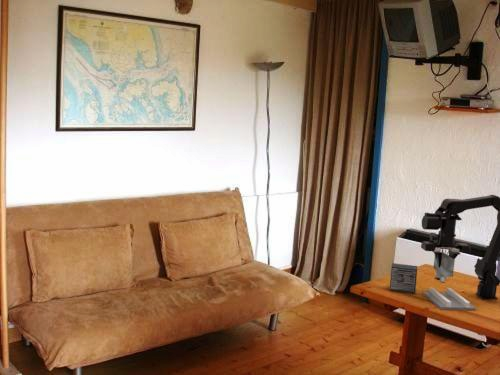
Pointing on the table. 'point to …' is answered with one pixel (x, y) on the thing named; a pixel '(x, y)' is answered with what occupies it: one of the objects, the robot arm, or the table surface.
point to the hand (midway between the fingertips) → (443, 267)
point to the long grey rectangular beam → (445, 265)
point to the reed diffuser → (440, 274)
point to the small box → (403, 278)
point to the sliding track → (448, 300)
